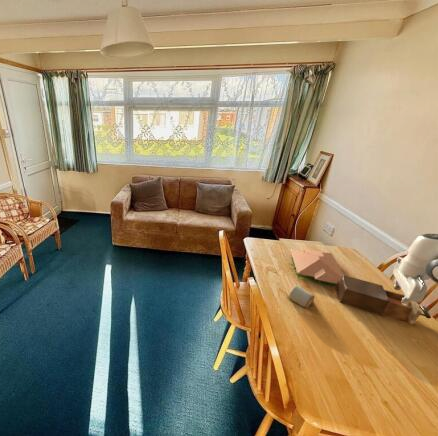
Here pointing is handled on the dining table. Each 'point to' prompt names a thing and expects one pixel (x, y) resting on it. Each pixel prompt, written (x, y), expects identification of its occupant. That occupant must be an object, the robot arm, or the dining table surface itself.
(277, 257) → the dining table surface
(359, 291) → the cabinet
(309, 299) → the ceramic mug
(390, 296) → the drawer
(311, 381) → the dining table surface
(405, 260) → the robot arm
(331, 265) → the house
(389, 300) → the block
